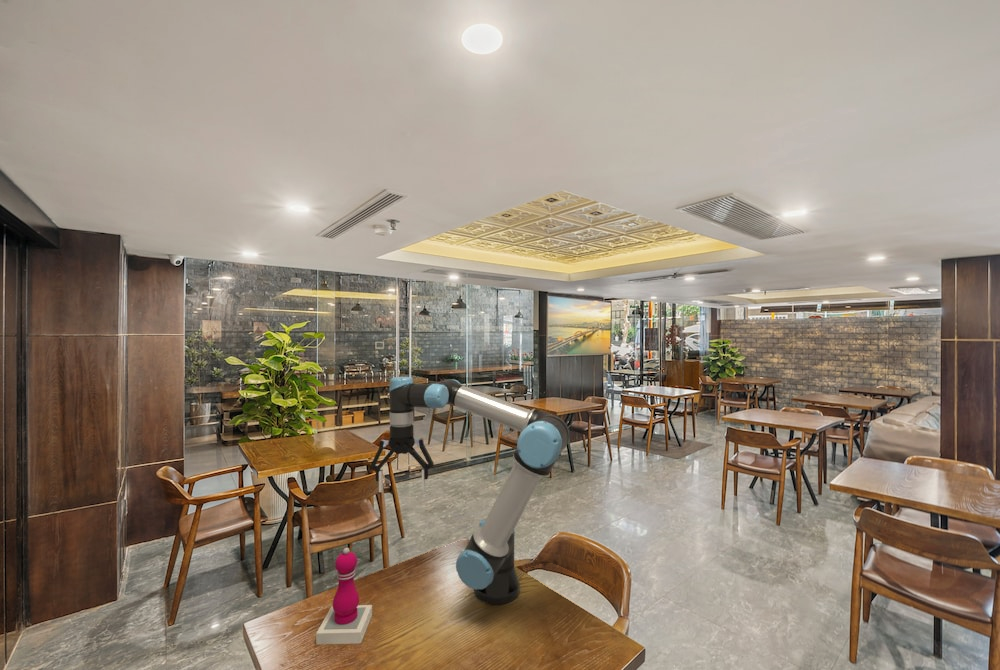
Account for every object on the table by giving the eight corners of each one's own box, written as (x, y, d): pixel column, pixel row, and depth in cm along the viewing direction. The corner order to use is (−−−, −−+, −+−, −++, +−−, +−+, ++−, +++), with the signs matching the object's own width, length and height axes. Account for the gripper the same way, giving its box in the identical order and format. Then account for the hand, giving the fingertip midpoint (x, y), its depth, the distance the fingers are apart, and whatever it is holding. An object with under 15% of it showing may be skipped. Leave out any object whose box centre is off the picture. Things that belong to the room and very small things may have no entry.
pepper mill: (350, 627, 118) (350, 555, 119) (327, 624, 120) (327, 552, 120) (364, 611, 126) (364, 543, 126) (341, 608, 127) (342, 540, 127)
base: (372, 614, 129) (372, 604, 129) (360, 643, 117) (360, 631, 117) (331, 615, 128) (331, 604, 128) (316, 644, 116) (316, 632, 116)
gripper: (440, 421, 144) (441, 484, 143) (365, 423, 142) (365, 487, 141) (439, 425, 136) (440, 492, 136) (359, 428, 134) (360, 495, 134)
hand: (402, 490), depth 139 cm, fingers open, 13 cm apart
